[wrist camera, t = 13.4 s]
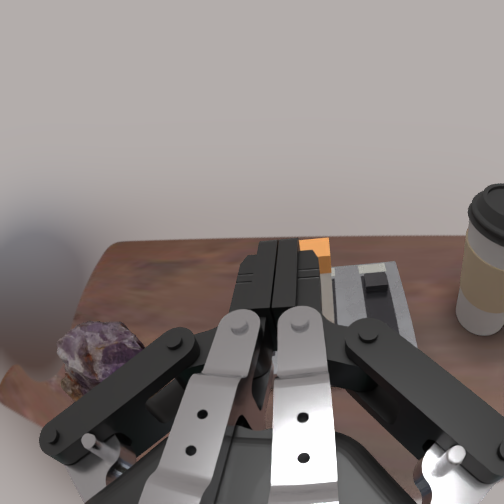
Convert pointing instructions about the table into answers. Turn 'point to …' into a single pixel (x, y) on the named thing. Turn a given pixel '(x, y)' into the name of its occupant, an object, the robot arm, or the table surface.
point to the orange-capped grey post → (322, 272)
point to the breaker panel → (368, 299)
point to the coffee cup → (483, 265)
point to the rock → (94, 354)
